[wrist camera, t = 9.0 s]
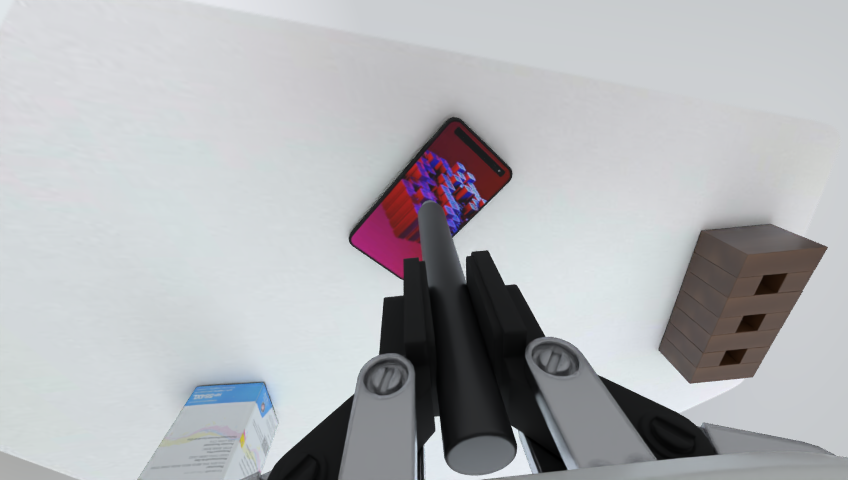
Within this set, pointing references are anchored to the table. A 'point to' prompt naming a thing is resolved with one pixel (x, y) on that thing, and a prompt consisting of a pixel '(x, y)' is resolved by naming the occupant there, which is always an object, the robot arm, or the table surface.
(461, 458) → the stylus
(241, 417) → the ink box
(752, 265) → the pen stand
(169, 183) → the table surface
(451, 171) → the smartphone
